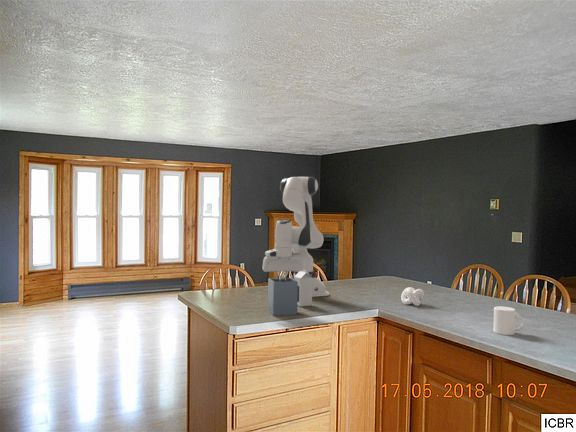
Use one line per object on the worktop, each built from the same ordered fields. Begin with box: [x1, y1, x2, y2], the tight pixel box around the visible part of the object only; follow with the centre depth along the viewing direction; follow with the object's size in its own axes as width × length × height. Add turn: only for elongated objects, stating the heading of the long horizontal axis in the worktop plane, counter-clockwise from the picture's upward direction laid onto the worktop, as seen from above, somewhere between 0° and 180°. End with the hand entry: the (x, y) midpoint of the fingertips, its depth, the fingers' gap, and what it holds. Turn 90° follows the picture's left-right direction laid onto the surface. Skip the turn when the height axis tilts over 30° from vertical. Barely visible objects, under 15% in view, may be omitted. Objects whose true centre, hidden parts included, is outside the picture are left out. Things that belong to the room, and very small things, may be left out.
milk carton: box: [293, 270, 313, 307], centre depth 238 cm, size 7×7×19 cm
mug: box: [492, 305, 526, 336], centre depth 189 cm, size 8×10×12 cm
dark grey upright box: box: [267, 277, 299, 316], centre depth 221 cm, size 14×12×16 cm
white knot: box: [400, 287, 425, 307], centre depth 243 cm, size 11×12×9 cm
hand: (282, 280), depth 220 cm, fingers closed, pressing on plunger
